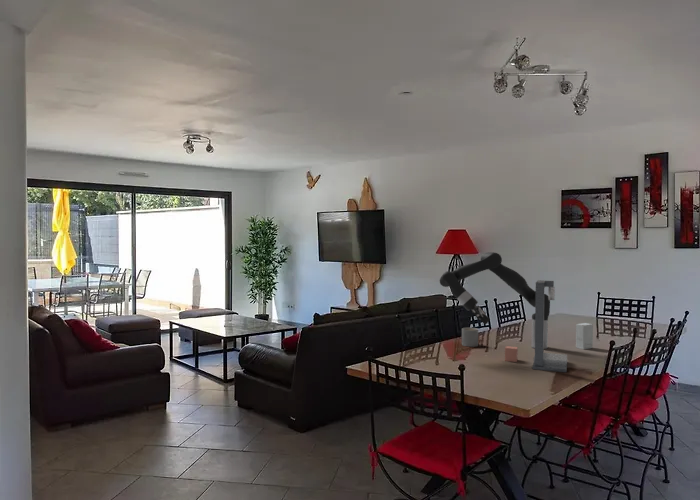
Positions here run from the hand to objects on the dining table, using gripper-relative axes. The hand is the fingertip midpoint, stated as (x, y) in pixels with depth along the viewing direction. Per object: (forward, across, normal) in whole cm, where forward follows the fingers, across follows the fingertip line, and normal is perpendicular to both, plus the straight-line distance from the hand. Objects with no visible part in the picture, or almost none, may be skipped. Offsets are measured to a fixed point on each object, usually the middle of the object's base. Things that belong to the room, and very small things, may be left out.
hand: (487, 322), depth 288 cm
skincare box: (+49, +52, -21) cm, 75 cm away
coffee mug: (+3, +34, +25) cm, 42 cm away
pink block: (+23, 0, +5) cm, 24 cm away
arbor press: (+37, -4, -9) cm, 38 cm away
